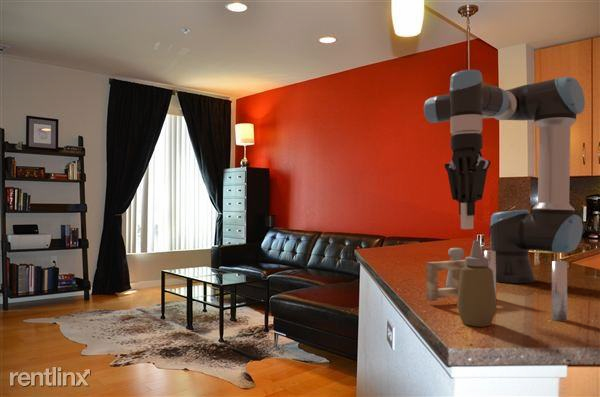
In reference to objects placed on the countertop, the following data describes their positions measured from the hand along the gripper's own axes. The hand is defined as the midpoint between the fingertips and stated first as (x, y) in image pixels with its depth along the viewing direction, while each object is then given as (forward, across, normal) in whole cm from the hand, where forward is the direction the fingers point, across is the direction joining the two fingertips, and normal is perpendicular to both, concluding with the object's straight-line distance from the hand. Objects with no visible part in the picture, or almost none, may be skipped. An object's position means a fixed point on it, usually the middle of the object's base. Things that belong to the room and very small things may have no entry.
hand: (467, 228), depth 112 cm
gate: (+18, +5, -2) cm, 19 cm away
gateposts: (+20, -6, -11) cm, 24 cm away
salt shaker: (+20, +14, -10) cm, 26 cm away
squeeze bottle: (+20, -12, +10) cm, 25 cm away
